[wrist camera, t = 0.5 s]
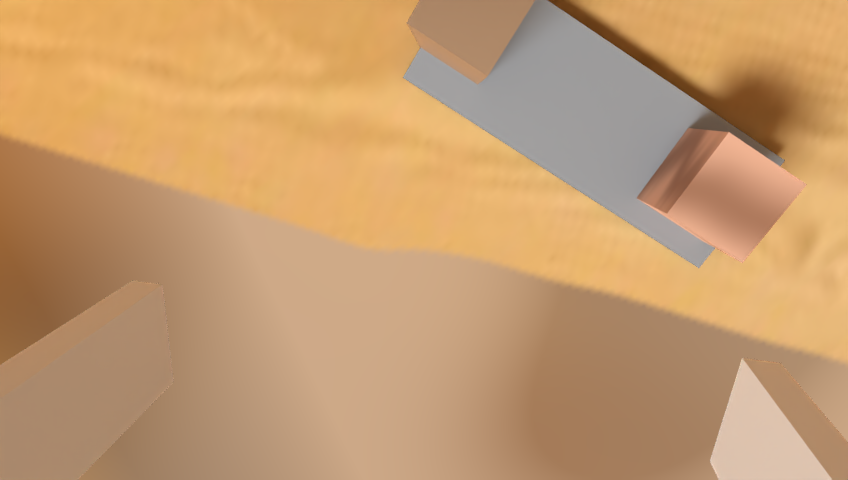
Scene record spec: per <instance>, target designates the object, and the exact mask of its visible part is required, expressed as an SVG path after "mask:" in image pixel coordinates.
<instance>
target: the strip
mask: <svg viewBox="0 0 848 480" xmlns="http://www.w3.org/2000/svg"><path fill="white" fill-rule="evenodd" d="M407 25H408V27H409V28H410V30H411V32H412V34H413V35H414V37H415V39H416V41H417V42H418V44H419V46H420V50H419V51H418V53H417V55H416V56H415V58H414V60H413V61H412V63H411V65H410V67H409V68H408V70H407V72H406V73H405V75H404V77H403V78H404V79H406V80H407V81H409V82H411V83H412V84H414V85H415V86H417V87H418V88H420V89H421V90H423V91H425V92H426V93H428V94H429V95H431V96H432V97H434V98H435V99H437V100H439V101H440V102H442V103H443V104H445V105H446V106H448V107H449V108H451V109H453V110H454V111H456V112H457V113H459V114H460V115H462V116H463V117H465V118H466V119H468V120H470V121H471V122H473V123H474V124H476V125H477V126H479V127H480V128H482V129H484V130H485V131H487V132H488V133H490V134H491V135H493V136H494V137H496V138H498V139H499V140H501V141H502V142H504V143H505V144H507V145H508V146H510V147H512V148H513V149H515V150H516V151H518V152H519V153H521V154H522V155H524V156H526V157H527V158H529V159H530V160H532V161H533V162H535V163H536V164H538V165H540V166H541V167H543V168H544V169H546V170H547V171H549V172H550V173H552V174H554V175H555V176H557V177H558V178H560V179H561V180H563V181H564V182H566V183H568V184H569V185H571V186H572V187H574V188H575V189H577V190H578V191H580V192H581V193H583V194H585V195H586V196H588V197H589V198H591V199H592V200H594V201H595V202H597V203H599V204H600V205H602V206H603V207H605V208H606V209H608V210H609V211H611V212H613V213H614V214H616V215H617V216H619V217H620V218H622V219H623V220H625V221H627V222H628V223H630V224H631V225H633V226H634V227H636V228H637V229H639V230H641V231H642V232H644V233H645V234H647V235H648V236H650V237H651V238H653V239H655V240H656V241H658V242H659V243H661V244H662V245H664V246H665V247H667V248H669V249H670V250H672V251H673V252H675V253H676V254H678V255H679V256H681V257H683V258H684V259H686V260H687V261H689V262H690V263H692V264H693V265H695V266H696V267H698V268H699V267H700V266H701V265H702V264H703V262H704V261H705V260H706V259H707V257H708V256H709V255H710V254H711V252H712V251H713V250H714V249H715V248H714V247H713V246H711V245H709V244H707V243H705V242H703V241H702V240H700V239H698V238H697V237H695V236H694V235H692V234H691V233H689V232H688V231H686V230H685V229H683V228H682V227H680V226H678V225H677V224H675V223H674V222H672V221H671V220H669V219H668V218H666V217H665V216H663V215H662V214H660V213H658V212H657V211H655V210H654V209H652V208H651V207H649V206H648V205H646V204H645V203H643V202H641V201H640V200H638V199H637V196H638V195H639V194H640V192H641V191H642V190H643V188H644V187H645V186H646V184H647V183H648V182H649V180H650V179H651V178H652V176H653V175H654V173H655V172H656V171H657V169H658V168H659V167H660V165H661V164H662V163H663V161H664V160H665V159H666V157H667V156H668V154H669V153H670V152H671V150H672V149H673V148H674V146H675V145H676V144H677V142H678V141H679V140H680V138H681V137H682V136H683V134H684V133H685V131H686V130H687V129H688V128H692V129H702V130H712V131H723V132H730V133H731V134H732V135H734V136H735V137H737V138H738V139H740V140H741V141H743V142H744V143H746V144H747V145H749V146H750V147H752V148H753V149H755V150H756V151H758V152H759V153H761V154H762V155H764V156H765V157H767V158H768V159H770V160H771V161H773V162H774V163H776V164H777V165H779V166H781V165H782V163H783V162H784V161H785V160H783V159H782V158H780V157H779V156H777V155H776V154H774V153H773V152H772V151H770V150H769V149H767V148H766V147H764V146H763V145H761V144H760V143H758V142H757V141H755V140H754V139H752V138H751V137H749V136H748V135H746V134H745V133H743V132H742V131H740V130H739V129H737V128H736V127H735V126H733V125H732V124H730V123H729V122H727V121H726V120H724V119H723V118H721V117H720V116H718V115H717V114H715V113H714V112H712V111H711V110H709V109H708V108H706V107H705V106H703V105H702V104H700V103H699V102H697V101H696V100H695V99H693V98H692V97H690V96H689V95H687V94H686V93H684V92H683V91H681V90H680V89H678V88H677V87H675V86H674V85H672V84H671V83H669V82H668V81H666V80H665V79H663V78H662V77H660V76H659V75H657V74H656V73H655V72H653V71H652V70H650V69H649V68H647V67H646V66H644V65H643V64H641V63H640V62H638V61H637V60H635V59H634V58H632V57H631V56H629V55H628V54H626V53H625V52H623V51H622V50H620V49H619V48H617V47H616V46H615V45H613V44H612V43H610V42H609V41H607V40H606V39H604V38H603V37H601V36H600V35H598V34H597V33H595V32H594V31H592V30H591V29H589V28H588V27H586V26H585V25H583V24H582V23H580V22H579V21H577V20H576V19H575V18H573V17H572V16H570V15H569V14H567V13H566V12H564V11H563V10H561V9H560V8H558V7H557V6H555V5H554V4H552V3H551V2H549V1H548V0H420V1H419V2H418V4H417V6H416V8H415V9H414V11H413V13H412V15H411V16H410V18H409V20H408V22H407Z"/></svg>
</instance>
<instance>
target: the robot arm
mask: <svg viewBox="0 0 848 480" xmlns="http://www.w3.org/2000/svg"><path fill="white" fill-rule="evenodd" d="M172 383H173V373H172V364H171V356H170V347H169V338H168V329H167V320H166V312H165V303H164V294H163V286H162V284H157V283H149V282H141V281H133V280H132V281H131V282H129V283H128V284H126V285H125V286H123V287H122V288H120V289H118V290H117V291H115V292H114V293H112V294H111V295H109V296H107V297H106V298H104V299H103V300H101V301H100V302H98V303H97V304H95V305H94V306H92V307H90V308H89V309H87V310H86V311H84V312H82V313H81V314H79V315H78V316H76V317H75V318H73V319H72V320H70V321H68V322H67V323H65V324H64V325H62V326H61V327H59V328H57V329H56V330H54V331H53V332H51V333H50V334H48V335H46V336H45V337H43V338H42V339H40V340H39V341H37V342H36V343H34V344H32V345H31V346H29V347H28V348H26V349H25V350H23V351H21V352H20V353H18V354H17V355H15V356H14V357H12V358H11V359H9V360H7V361H6V362H5V363H3V364H1V365H0V480H78V479H79V478H80V477H81V476H82V475H83V474H84V473H85V472H86V471H87V470H88V469H89V468H90V467H91V465H92V464H94V463H95V462H96V461H97V460H98V458H99V457H100V456H101V455H102V454H103V453H104V452H105V451H106V450H107V449H108V448H109V447H110V446H111V445H112V444H113V443H114V442H115V441H116V440H117V439H118V438H119V437H120V436H121V435H122V434H123V433H124V432H125V431H126V430H127V429H128V428H129V427H130V426H131V425H132V424H133V423H134V422H135V421H136V420H137V419H138V418H139V417H140V416H141V415H142V414H143V413H144V412H145V410H146V409H147V408H148V407H149V406H150V405H151V404H152V403H153V402H154V401H155V400H156V399H157V398H158V397H159V396H160V395H161V394H162V393H163V392H164V391H165V390H166V389H167V388H168V387H169V386H170V385H171V384H172ZM710 462H711V465H712V467H713V469H714V471H715V473H716V475H717V477H718V479H719V480H848V442H847V441H846V440H845V439H844V437H843V436H842V435H841V434H840V433H839V431H838V430H837V429H836V428H835V427H834V426H833V424H832V423H831V422H830V421H829V419H828V418H827V417H826V416H825V415H824V413H823V412H822V411H821V410H820V409H819V408H818V407H817V405H816V404H815V403H814V402H813V401H812V399H811V398H810V397H809V396H808V395H807V393H806V392H805V391H804V390H803V389H802V388H801V386H800V385H799V384H798V383H797V382H796V381H795V379H794V378H793V377H792V376H791V375H790V373H789V372H788V371H787V370H786V369H785V367H784V366H783V365H782V364H781V363H777V362H770V361H762V360H754V359H746V358H742V361H741V364H740V367H739V370H738V373H737V376H736V380H735V383H734V386H733V389H732V393H731V396H730V399H729V402H728V405H727V408H726V412H725V415H724V418H723V421H722V424H721V428H720V431H719V434H718V437H717V440H716V444H715V447H714V450H713V453H712V456H711V459H710Z"/></svg>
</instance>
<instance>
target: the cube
mask: <svg viewBox="0 0 848 480" xmlns="http://www.w3.org/2000/svg"><path fill="white" fill-rule="evenodd" d="M806 185H807V184H805V183H804V182H802V181H801V180H799V179H798V178H796V177H795V176H793V175H792V174H790V173H789V172H787V171H786V170H784V169H783V168H781V167H780V166H779V165H777V164H776V163H774V162H773V161H771V160H770V159H768V158H767V157H765V156H764V155H762V154H761V153H759V152H758V151H756V150H755V149H753V148H752V147H750V146H749V145H747V144H746V143H744V142H743V141H741V140H740V139H738V138H737V137H735V136H734V135H732V134H731V133H730V132H723V131H712V130H702V129H692V128H688V129H687V130H686V131H685V133H684V134H683V136H682V137H681V138H680V140H679V141H678V142H677V144H676V145H675V146H674V148H673V149H672V150H671V152H670V153H669V154H668V156H667V157H666V159H665V160H664V161H663V163H662V164H661V165H660V167H659V168H658V169H657V171H656V172H655V173H654V175H653V176H652V178H651V179H650V180H649V182H648V183H647V184H646V186H645V187H644V188H643V190H642V191H641V192H640V194H639V195H638V196H637V199H638V200H640V201H641V202H643V203H645V204H646V205H648V206H649V207H651V208H652V209H654V210H655V211H657V212H658V213H660V214H662V215H663V216H665V217H666V218H668V219H669V220H671V221H672V222H674V223H675V224H677V225H678V226H680V227H682V228H683V229H685V230H686V231H688V232H689V233H691V234H692V235H694V236H695V237H697V238H698V239H700V240H702V241H703V242H705V243H707V244H709V245H711V246H713V247H714V248H716V249H718V250H720V251H722V252H724V253H725V254H727V255H729V256H731V257H733V258H734V259H736V260H738V261H740V262H742V263H743V262H744V261H745V259H746V258H747V257H748V256H749V254H750V253H751V252H752V251H753V250H754V248H755V247H756V246H757V245H758V243H759V242H760V241H761V240H762V239H763V237H764V236H765V235H766V234H767V232H768V231H769V230H770V229H771V228H772V226H773V225H774V224H775V223H776V221H777V220H778V219H779V218H780V217H781V215H782V214H783V213H784V212H785V210H786V209H787V208H788V207H789V206H790V204H791V203H792V202H793V201H794V199H795V198H796V197H797V196H798V195H799V193H800V192H801V191H802V190H803V188H804V187H805V186H806Z"/></svg>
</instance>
